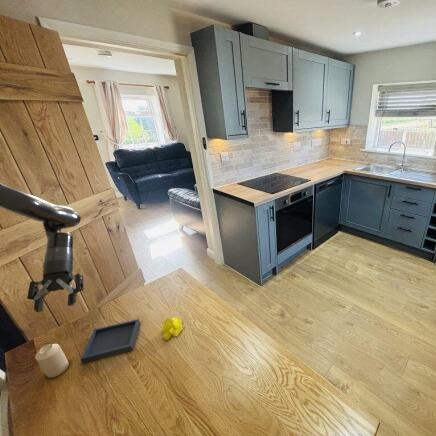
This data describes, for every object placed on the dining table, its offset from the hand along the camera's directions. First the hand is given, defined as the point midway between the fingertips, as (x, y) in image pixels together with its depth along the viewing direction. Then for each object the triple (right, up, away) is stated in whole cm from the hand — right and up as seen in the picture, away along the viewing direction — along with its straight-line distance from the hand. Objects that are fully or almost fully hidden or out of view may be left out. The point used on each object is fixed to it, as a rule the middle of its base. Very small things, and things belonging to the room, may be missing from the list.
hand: (55, 308), depth 80 cm
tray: (+14, -15, +7) cm, 22 cm away
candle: (+3, -19, -2) cm, 20 cm away
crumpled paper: (+34, -13, +12) cm, 38 cm away
